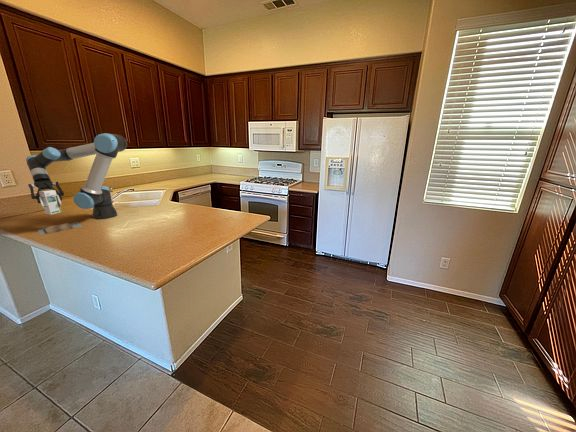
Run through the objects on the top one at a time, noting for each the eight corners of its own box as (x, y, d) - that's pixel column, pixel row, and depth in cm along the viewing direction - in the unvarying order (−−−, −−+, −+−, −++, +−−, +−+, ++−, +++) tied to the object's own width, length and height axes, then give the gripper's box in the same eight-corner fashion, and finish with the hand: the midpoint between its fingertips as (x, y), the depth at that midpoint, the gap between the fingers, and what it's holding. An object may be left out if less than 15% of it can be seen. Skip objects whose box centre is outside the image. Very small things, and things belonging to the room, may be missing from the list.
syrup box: (51, 214, 146) (44, 191, 142) (45, 213, 148) (38, 190, 144) (62, 212, 151) (55, 190, 147) (56, 211, 153) (50, 189, 149)
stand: (69, 224, 160) (68, 222, 160) (73, 228, 153) (72, 226, 153) (44, 229, 151) (43, 227, 151) (47, 233, 144) (46, 231, 144)
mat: (77, 222, 166) (77, 222, 166) (82, 227, 157) (82, 226, 157) (37, 230, 151) (37, 229, 151) (40, 235, 142) (40, 234, 142)
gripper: (62, 178, 161) (73, 205, 155) (18, 182, 146) (29, 212, 141) (61, 171, 156) (73, 199, 151) (16, 174, 141) (27, 205, 136)
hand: (52, 205), depth 146 cm, fingers closed on syrup box, 7 cm apart
